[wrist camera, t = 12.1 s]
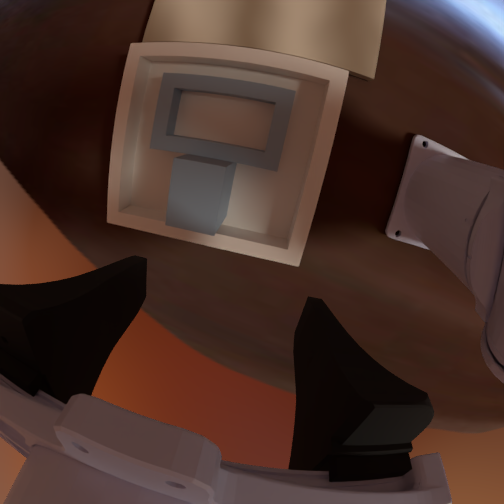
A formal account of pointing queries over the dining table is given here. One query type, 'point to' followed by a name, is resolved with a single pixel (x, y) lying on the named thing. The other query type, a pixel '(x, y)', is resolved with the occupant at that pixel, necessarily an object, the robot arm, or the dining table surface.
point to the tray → (227, 131)
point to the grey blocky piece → (212, 149)
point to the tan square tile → (279, 28)
